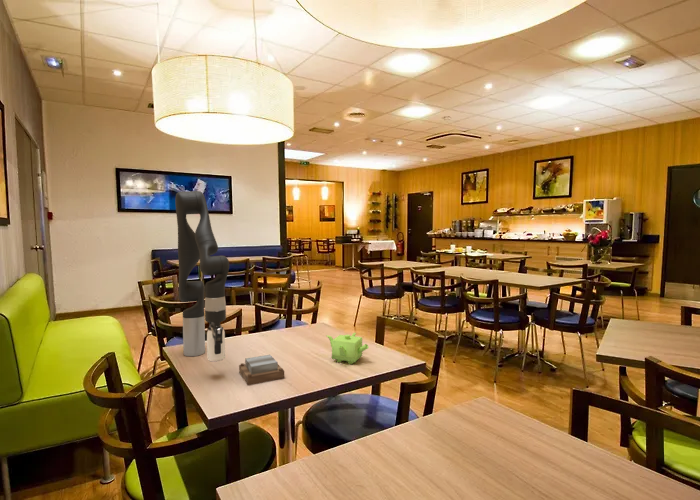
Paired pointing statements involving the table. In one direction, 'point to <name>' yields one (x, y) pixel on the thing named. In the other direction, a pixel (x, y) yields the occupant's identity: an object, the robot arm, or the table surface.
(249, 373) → the grey block on base
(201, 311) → the robot arm
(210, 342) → the can
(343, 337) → the kettle
